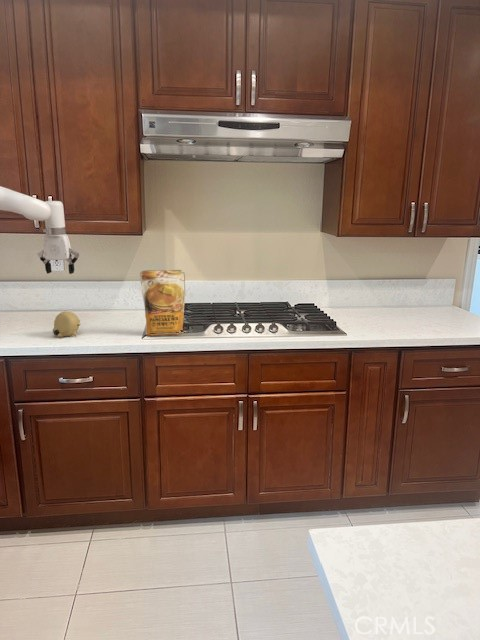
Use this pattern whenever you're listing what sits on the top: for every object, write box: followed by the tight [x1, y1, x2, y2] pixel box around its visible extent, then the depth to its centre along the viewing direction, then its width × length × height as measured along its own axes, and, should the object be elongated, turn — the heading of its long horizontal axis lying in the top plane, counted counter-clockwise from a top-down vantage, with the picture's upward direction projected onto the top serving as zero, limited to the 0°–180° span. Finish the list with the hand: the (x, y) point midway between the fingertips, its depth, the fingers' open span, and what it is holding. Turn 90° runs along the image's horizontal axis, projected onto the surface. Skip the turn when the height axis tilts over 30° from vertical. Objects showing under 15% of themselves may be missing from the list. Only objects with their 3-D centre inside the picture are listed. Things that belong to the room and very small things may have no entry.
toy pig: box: [52, 310, 81, 338], centre depth 198 cm, size 10×12×11 cm
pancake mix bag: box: [139, 269, 186, 337], centre depth 200 cm, size 7×19×28 cm, turn 102°
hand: (60, 273), depth 195 cm, fingers open, 9 cm apart
